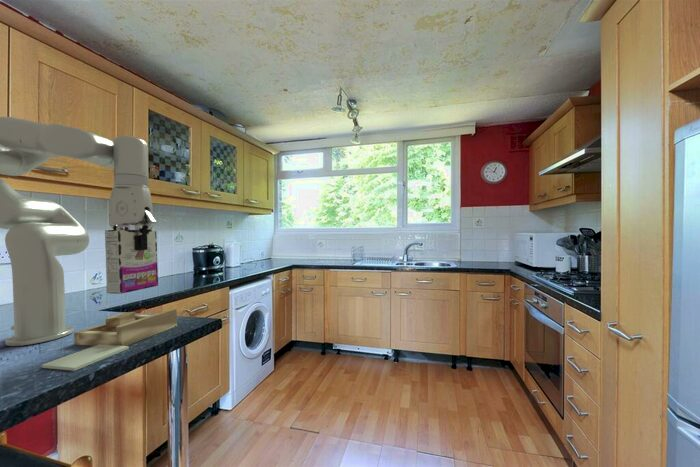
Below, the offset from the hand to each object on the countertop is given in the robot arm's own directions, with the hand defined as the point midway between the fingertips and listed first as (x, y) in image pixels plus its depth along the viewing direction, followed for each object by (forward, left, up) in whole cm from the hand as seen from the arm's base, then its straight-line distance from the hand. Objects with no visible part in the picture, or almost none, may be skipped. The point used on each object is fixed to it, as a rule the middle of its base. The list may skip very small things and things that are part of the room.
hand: (132, 249), depth 78 cm
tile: (+3, -14, -23) cm, 27 cm away
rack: (-2, 0, -23) cm, 23 cm away
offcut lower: (-5, 0, -24) cm, 24 cm away
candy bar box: (0, 0, -11) cm, 11 cm away
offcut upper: (-5, 0, -21) cm, 21 cm away
